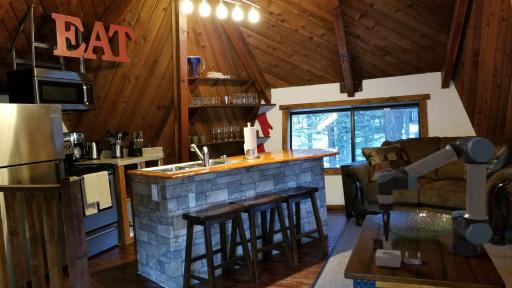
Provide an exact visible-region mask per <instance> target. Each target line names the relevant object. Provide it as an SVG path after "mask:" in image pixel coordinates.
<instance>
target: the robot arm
mask: <svg viewBox="0 0 512 288" xmlns="http://www.w3.org/2000/svg"><path fill="white" fill-rule="evenodd" d="M494 154H495V147H494V144H493V143H492V142H491V141H490V140H489V139H487V138H484V137H481V136H473V135H467V136H462V137H461V138H459V139H456V140H454V141H452V142H450V143H448V144H446V146H445V148H442V149H440V150H438V151H436V152H434V153H432V154H430V155H428V156H426V157H424V158H422V159H420V160H418V161H416V162H413V163H412V164H408V165H407V166H405V167H404V168H401V169H399V170H393V171H391V172H389V171H383V172H382V171H381V172H378V174H377V175H376V178H377V179H376V184H377V195H376V198H377V199H378V200H377V201H378V203H377V204H378V207H377V208H378V210H379V211H382V213H381V217H382V224H383V225H382V227H383V233H382V236H383V235H384V246H385V247H390V235H389V231H390V233H392V230H391V211H394V191H411V190H412V191H413V190H416V189H417V188H418V179H417V178H419V177H420V176H422V175H424V174H425V175H426V173H429V172H431V171H433V170H436V169H438V168H440V167H441V166H443V165H446V164H448V163H450V162H452V161H456V162H457V161H458V160H461V159H463V164H464V165H465V166H466V191H465V192H466V199H465V202H466V203H465V204H466V205H465V209H466V210H454V211H452V212H451V216H450V218H451V236H452V237H451V241H450V243H449V247H448V250H449V252H451V253H452V254H453V255H454V256H459V257H465V258H473V257H478V256H479V255H481V249H480V246H479V245H484V244H486V243H488V242H489V241H490V240H491V238H492V236H493V229H492V228H491V226H490V225H489V216H488V215H487V214H486V192H487V191H486V190H487V189H486V187H487V183H486V182H487V167H489V165H490V164H491V158H493V157H494Z"/></svg>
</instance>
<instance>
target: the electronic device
mask: <svg viewBox="0 0 512 288" xmlns="http://www.w3.org/2000/svg"><path fill="white" fill-rule="evenodd" d="M377 249H379V250H387V249H383V237H381V238H378V237H376V238H373V239H372V251H373V252H377Z"/></svg>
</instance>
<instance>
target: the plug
mask: <svg viewBox="0 0 512 288" xmlns="http://www.w3.org/2000/svg"><path fill="white" fill-rule="evenodd" d="M390 231H391V230H390ZM390 231H389V235H390V247H385V246H384V235H383V234H382V239H383V249H387V250H392V233H391V232H390Z"/></svg>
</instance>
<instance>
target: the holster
mask: <svg viewBox="0 0 512 288" xmlns="http://www.w3.org/2000/svg"><path fill="white" fill-rule="evenodd" d="M404 264H412V265H422V260H421V252H417V259H413V258H409V252H408V251H405V257H404Z"/></svg>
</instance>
